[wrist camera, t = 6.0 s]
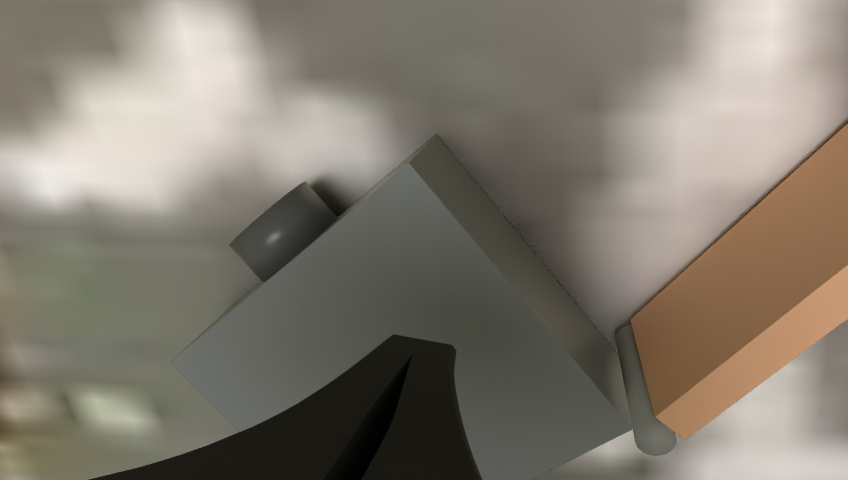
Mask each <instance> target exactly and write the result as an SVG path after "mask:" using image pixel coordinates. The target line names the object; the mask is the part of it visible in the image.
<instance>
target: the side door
mask: <svg viewBox="0 0 848 480" xmlns="http://www.w3.org/2000/svg"><path fill="white" fill-rule="evenodd" d="M846 319H848V123H847V124H846V125H845V126H844V127H843V128H842V129H841V130H840V131H839V132H838V133H836V134H835V135H834V136H833V137H832V138H831V139H830V140H829V141H828V142H826V143H825V144H824V145H823V146H822V147H821V148H820V149H819V150H818V151H816V152H815V153H814V154H813V155H812V156H811V157H810V158H809V159H808V160H806V161H805V162H804V163H803V164H802V165H801V166H800V167H799V168H798V169H797V170H795V171H794V172H793V173H792V174H791V175H790V176H789V177H788V178H787V179H785V180H784V181H783V182H782V183H781V184H780V185H779V186H778V187H777V188H775V189H774V190H773V191H772V192H771V193H770V194H769V195H768V196H767V197H765V198H764V199H763V200H762V201H761V202H760V203H759V204H758V205H757V206H756V207H754V208H753V209H752V210H751V211H750V212H749V213H748V214H747V215H746V216H744V217H743V218H742V219H741V220H740V221H739V222H738V223H737V224H736V225H734V226H733V227H732V228H731V229H730V230H729V231H728V232H727V233H726V234H725V235H723V236H722V237H721V238H720V239H719V240H718V241H717V242H716V243H715V244H713V245H712V246H711V247H710V248H709V249H708V250H707V251H706V252H705V253H703V254H702V255H701V256H700V257H699V258H698V259H697V260H696V261H695V262H693V263H692V264H691V265H690V266H689V267H688V268H687V269H686V270H685V271H684V272H682V273H681V274H680V275H679V276H678V277H677V278H676V279H675V280H674V281H672V282H671V283H670V284H669V285H668V286H667V287H666V288H665V289H664V290H662V291H661V292H660V293H659V294H658V295H657V296H656V297H655V298H654V299H652V300H651V301H650V302H649V303H648V304H647V305H646V306H645V307H644V308H643V309H641V310H640V311H639V312H638V313H637V314H636V315H635V316H634V317H633V318H631V319H630V321H631V325H627V326H624V327H622V328H620V329H619V330H618V332H617V333H616V344H617V349H618V355H619V360H620V365H621V370H622V375H623V380H624V386H625V391H626V396H627V401H628V406H629V411H630V416H631V422H632V427H633V432H634V437H635V442H636V445H637V447H638V448H639V449H640V450H641V451H643V452H644V453H646V454H649V455H655V456H657V455H664V454H666V453H668V452H670V451H671V450H672V449H673V448H674V446H675V444H676V436H675V433H676V434H677V435H679V436H680V437H681V438H683V439H684V440H686V439H687V438H689V437H690V436H691V435H693V434H694V433H695V432H697V431H698V430H699V429H701V428H702V427H703V426H705V425H706V424H707V423H709V422H710V421H711V420H713V419H714V418H715V417H717V416H718V415H719V414H721V413H722V412H723V411H725V410H726V409H727V408H729V407H730V406H731V405H733V404H734V403H735V402H737V401H738V400H739V399H741V398H742V397H743V396H745V395H746V394H747V393H749V392H750V391H751V390H753V389H754V388H755V387H757V386H758V385H759V384H761V383H762V382H763V381H765V380H766V379H767V378H769V377H770V376H771V375H773V374H774V373H775V372H777V371H778V370H779V369H781V368H782V367H784V366H785V365H786V364H788V363H789V362H790V361H792V360H793V359H794V358H796V357H797V356H798V355H800V354H801V353H802V352H804V351H805V350H806V349H808V348H809V347H810V346H812V345H813V344H814V343H816V342H817V341H818V340H820V339H821V338H822V337H824V336H825V335H826V334H828V333H829V332H830V331H832V330H833V329H834V328H836V327H837V326H838V325H840V324H841V323H842V322H844V321H845V320H846ZM674 432H675V433H674Z"/></svg>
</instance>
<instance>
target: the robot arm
mask: <svg viewBox="0 0 848 480" xmlns="http://www.w3.org/2000/svg"><path fill="white" fill-rule="evenodd" d="M456 352H457V351H456V349H455V348H454V347H453V345H450V344H445V343H439V342H434V341H428V340H423V339H417V338H412V337H406V336H401V335H395V334H393V335H392V336H390V337H389V338H387V339H386V340H385V341H384V342H382V343H381V344H380V345H379V346H377V347H376V348H375V349H374V350H372V351H371V352H370V353H369V354H367V355H366V356H365V357H363V358H362V359H361V360H360V361H358V362H357V363H356V364H354V365H353V366H352V367H350V368H349V369H348V370H346V371H345V372H344V373H342V374H341V375H339V376H338V377H337V378H335V379H334V380H333V381H331V382H330V383H328V384H327V385H325V386H324V387H322V388H321V389H319V390H318V391H316V392H315V393H313V394H311V395H310V396H308V397H307V398H305V399H304V400H302V401H301V402H299V403H297V404H296V405H294V406H292V407H290V408H288V409H287V410H285V411H283V412H281V413H279V414H277V415H275V416H273V417H271V418H269V419H267V420H265V421H263V422H261V423H259V424H257V425H255V426H253V427H251V428H248V429H246V430H243V431H241V432H239V433H236V434H234V435H232V436H229V437H227V438H224V439H222V440H220V441H217V442H215V443H212V444H210V445H207V446H205V447H202V448H199V449H196V450H193V451H190V452H188V453H185V454H182V455H179V456H175V457H172V458H169V459H166V460H163V461H159V462H156V463H153V464H149V465H146V466H142V467H139V468H135V469H131V470H127V471H122V472H118V473H114V474H110V475H106V476H102V477H98V478H93V479H89V480H482V477H481V475H480V473H479V470H478V468H477V465H476V463H475V460H474V457H473V455H472V452H471V449H470V446H469V443H468V440H467V436H466V433H465V429H464V426H463V422H462V418H461V414H460V410H459V404H458V399H457V394H456V388H455V378H454V369H455V360H456Z"/></svg>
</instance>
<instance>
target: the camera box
mask: <svg viewBox="0 0 848 480" xmlns="http://www.w3.org/2000/svg"><path fill="white" fill-rule="evenodd" d="M229 246H230V247H231V248H232V249H233V250H234V251H235V252H236V253H237V254H238V255H239V256H240V258H241V259H242V260H243V261H244V262H245V263H246V264H247V265H248V266H249V267H250V268H251V269H252V270H253V272H254V273H255V274H256V275H257V276H258V277H259V278H260V279H261V280H262V281H261V282H260V283H259V284H257V285H256V286H255V287H254V288H253V289H252V290H250V291H249V292H248V293H247V294H246V295H244V296H243V297H242V298H241V299H240V300H238V301H237V302H236V303H235V304H234V305H232V306H231V307H230V308H229V309H228V310H227V311H226V312H225V313H224V314H222V315H221V316H220V317H219V318H218V319H217V320H216V321H215V322H214V323H213V324H211V325H210V326H209V327H208V328H207V329H206V330H205V331H204V332H203V333H202V334H200V335H199V336H198V337H197V338H196V339H195V340H194V341H193V342H192V343H191V344H189V345H188V346H187V347H186V348H185V349H184V350H183V351H182V352H181V353H180V354H178V355H177V356H176V357H175V358H174V359H173V360H172V361H171V362H170V363H171V364H172V365H173V366H174V367H175V368H176V369H177V370H178V371H179V372H180V373H181V374H182V375H183V376H184V377H185V378H186V379H187V380H188V381H189V382H190V383H191V384H192V385H193V386H194V387H195V388H196V389H197V390H198V391H199V392H200V393H201V394H202V395H203V396H204V397H205V398H206V399H207V400H208V402H209V403H210V404H211V405H212V406H213V407H214V408H215V409H216V410H217V411H218V412H219V413H220V414H221V415H222V416H223V417H224V418H225V419H226V420H227V421H228V422H229V423H230V424H231V425H232V426H233V427H234V428H235V429H236V430H237V431H238V432H241V431H243V430H246V429H248V428H251V427H253V426H255V425H257V424H259V423H261V422H263V421H265V420H267V419H269V418H271V417H273V416H275V415H277V414H279V413H281V412H283V411H285V410H287V409H288V408H290V407H292V406H294V405H296V404H297V403H299V402H301V401H302V400H304V399H305V398H307V397H308V396H310V395H311V394H313V393H315V392H316V391H318V390H319V389H321V388H322V387H324V386H325V385H327V384H328V383H330V382H331V381H333V380H334V379H335V378H337V377H338V376H339V375H341V374H342V373H344V372H345V371H346V370H348V369H349V368H350V367H352V366H353V365H354V364H356V363H357V362H358V361H360V360H361V359H362V358H363V357H365V356H366V355H367V354H369V353H370V352H371V351H372V350H374V349H375V348H376V347H377V346H379V345H380V344H381V343H382V342H384V341H385V340H386V339H387V338H389V337H390V336H392V335H393V334H395V335H401V336H406V337H412V338H417V339H423V340H428V341H434V342H439V343H445V344H450V345H453V347H454V348H455V349H456V351H457V352H456V360H455V369H454V378H455V388H456V394H457V399H458V404H459V410H460V414H461V418H462V422H463V426H464V429H465V433H466V436H467V440H468V443H469V446H470V449H471V452H472V455H473V457H474V460H475V463H476V465H477V468H478V470H479V473H480V475H481V477H482V480H531V479H533V478H535V477H537V476H539V475H541V474H543V473H545V472H547V471H550V470H552V469H554V468H556V467H558V466H560V465H562V464H564V463H566V462H568V461H570V460H572V459H574V458H576V457H578V456H580V455H582V454H584V453H586V452H588V451H590V450H592V449H594V448H596V447H598V446H600V445H602V444H604V443H606V442H608V441H610V440H612V439H614V438H616V437H618V436H620V435H622V434H624V433H626V432H628V431H630V430H632V429H633V428H632V423H631V418H630V413H629V408H628V403H627V397H626V392H625V387H624V382H623V377H622V371H621V366H620V361H619V356H618V354H617V353H616V352H615V351H614V349H613V348H612V347H611V346H610V344H609V343H608V342H607V341H606V340H605V338H604V337H603V336H602V335H601V334H600V332H599V331H598V330H597V329H596V327H595V326H594V325H593V324H592V323H591V321H590V320H589V319H588V318H587V317H586V315H585V314H584V313H583V312H582V310H581V309H580V308H579V307H578V306H577V304H576V303H575V302H574V301H573V300H572V298H571V297H570V296H569V295H568V293H567V292H566V291H565V290H564V289H563V287H562V286H561V285H560V284H559V283H558V281H557V280H556V279H555V278H554V276H553V275H552V274H551V273H550V272H549V270H548V269H547V268H546V267H545V266H544V264H543V263H542V262H541V261H540V259H539V258H538V257H537V256H536V255H535V253H534V252H533V251H532V250H531V249H530V247H529V246H528V245H527V244H526V242H525V241H524V240H523V239H522V238H521V236H520V235H519V234H518V233H517V232H516V230H515V229H514V228H513V227H512V225H511V224H510V223H509V222H508V221H507V219H506V218H505V217H504V216H503V215H502V213H501V212H500V211H499V210H498V208H497V207H496V206H495V205H494V204H493V202H492V201H491V200H490V199H489V198H488V196H487V195H486V194H485V193H484V191H483V190H482V189H481V188H480V187H479V185H478V184H477V183H476V182H475V181H474V179H473V178H472V177H471V176H470V174H469V173H468V172H467V171H466V170H465V168H464V167H463V166H462V165H461V164H460V162H459V161H458V160H457V159H456V157H455V156H454V155H453V154H452V153H451V151H450V150H449V149H448V148H447V147H446V145H445V144H444V143H443V142H442V140H441V139H440V138H439V137H438V136H437V134H436V135H435V136H434V137H433V138H431V139H430V140H429V141H428V142H427V143H425V144H424V145H423V146H422V147H421V148H419V149H418V150H417V151H416V152H415V153H413V154H412V155H411V156H410V157H409V158H408V159H406V160H405V161H404V162H403V163H402V164H400V165H399V166H398V167H397V168H396V169H394V170H393V171H392V172H391V173H390V174H388V175H387V176H386V177H385V178H384V179H383V180H381V181H380V182H379V183H378V184H377V185H375V186H374V187H373V188H372V189H371V190H369V191H368V192H367V193H366V194H365V195H363V196H362V197H361V198H360V199H359V200H358V201H356V202H355V203H354V204H353V205H352V206H350V207H349V208H348V209H347V210H346V211H344V212H343V213H342V214H341V215H340V216H338V217H337V216H336V215H335V214H334V213H333V212H332V211H331V210H330V208H329V207H328V206H327V205H326V204H325V203H324V202H323V200H322V199H321V198H320V197H319V196H318V195H317V194H316V193H315V191H314V190H313V189H312V188H311V187H310V186H309V185H308V183H307V182H306V181H305V182H303V183H301V184H300V185H298V186H297V187H296V188H294V189H293V190H292V191H290V192H289V193H288V194H286V195H285V196H284V197H283V198H281V199H280V200H279V201H278V202H276V203H275V204H274V205H273V206H272V207H270V208H269V209H268V210H267V211H266V212H264V213H263V214H262V215H261V216H260V217H258V218H257V219H256V220H255V221H254V222H253V223H252V224H250V225H249V226H248V227H247V228H246V229H245V230H244V231H243V232H242V233H241V234H239V235H238V236H237V237H236V238H235V239H234V240H233V241H232V242H231V244H230V245H229Z"/></svg>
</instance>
